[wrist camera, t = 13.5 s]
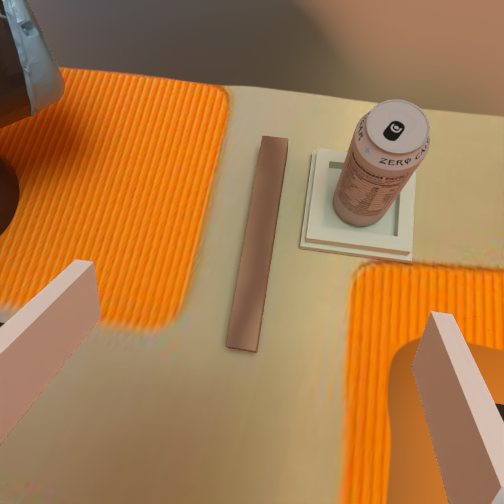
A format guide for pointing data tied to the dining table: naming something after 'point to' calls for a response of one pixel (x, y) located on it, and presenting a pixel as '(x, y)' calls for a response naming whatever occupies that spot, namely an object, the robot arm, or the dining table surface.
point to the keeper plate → (349, 235)
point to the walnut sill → (258, 246)
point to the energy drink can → (381, 160)
